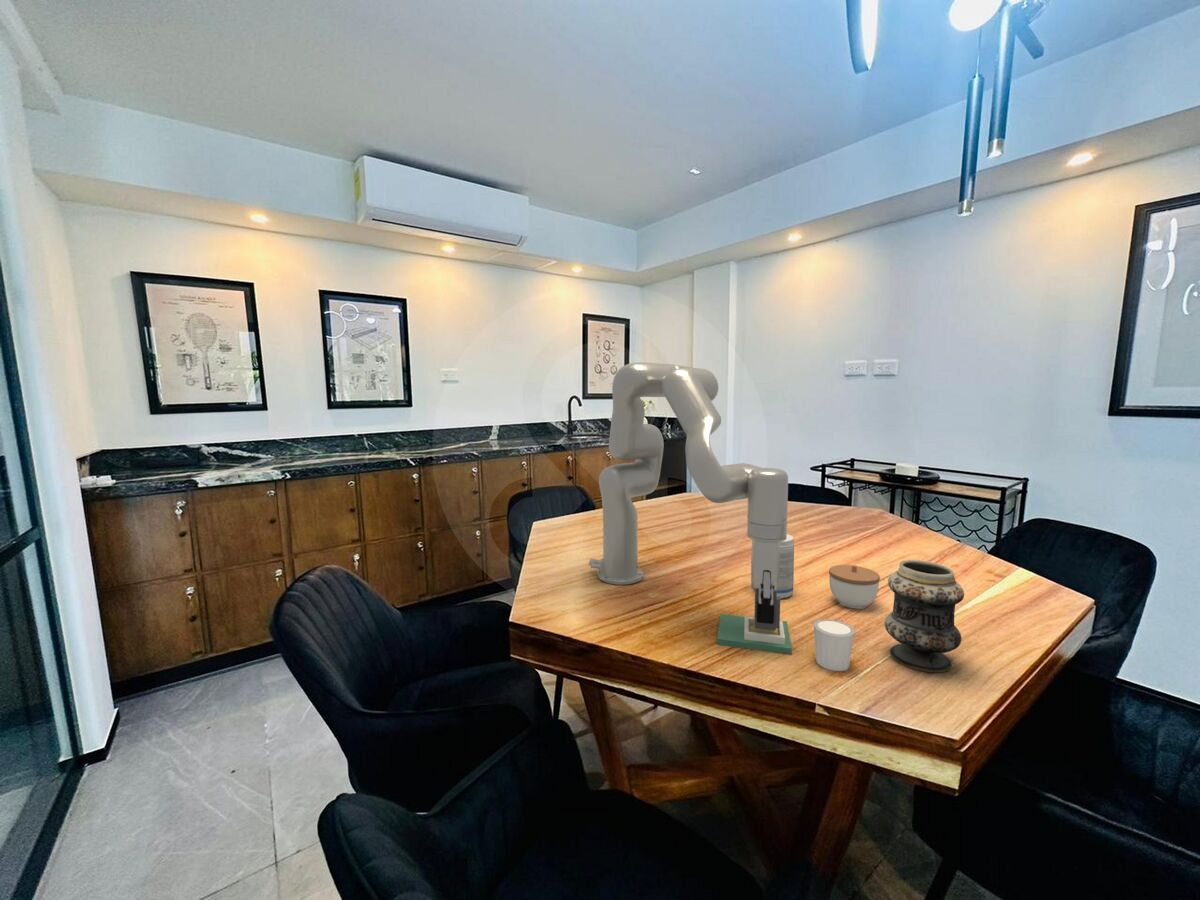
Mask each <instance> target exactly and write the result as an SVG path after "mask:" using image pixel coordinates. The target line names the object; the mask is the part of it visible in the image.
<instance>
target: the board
mask: <svg viewBox="0 0 1200 900" xmlns="http://www.w3.org/2000/svg"><path fill="white" fill-rule="evenodd" d="M716 639H717V641H716V645H717V646H727V647H732V648H740V649H747V650H754V651H761V652H762V651H763V652H771V653H778V654H785V655H793V654H792V653H793V647H792V642H791V636H790V629H789V624H788V621H786V620H780V629H778V628H776V631H774V630H765V629H757V628H755V623H754V617H753V616H744V615H738V614H737V615H735V614H726V613H720V614H719V623H718V631H717V638H716Z"/></svg>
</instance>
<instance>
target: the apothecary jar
mask: <svg viewBox="0 0 1200 900" xmlns="http://www.w3.org/2000/svg"><path fill="white" fill-rule="evenodd" d="M898 567H899V568H898V570H896V571H894V572H893V573H892V574H890V576H888V579H887V586H888V588H889V589H890V590H891V591H892V592H893V594H894V595H893V607H892V612H890V613H888V614H887V616H885V618H884V622H883V623H884V628H885V630H886V632H887V633H888V635H890V636H891V637H892V638H893V639H894V641H897V642H898V643H900V644H896V645H894V646H892V647H891V648H890V650H889V655H890V656H891V657H892V658H893V659H894V661H896V662H898V663H899V664H901V665H903V666H906V667H908V668H910V669H913V670H917V671H921V672H926V673H934V674H940V673H947V672H949V671H951V669H953V663H952V661H951V660H950V659H949V658H948V656H946V655H945V653H950V652H952V651H955V649H958V648H959V647H960V645H961V643H962V635H961V632H960V631H959V629H958V628H957V626H955V612H956V610H955V609H956V605H957V604H959V603H961V602H962V601H963V599H964V598H965V592H964V588H963V587H962V586H961V585H960V584H959V582H957V581H956V577H955V572H954V570H953V569H952V568H950V567H948V566H946V565H942V564H939V563H937V562H936V563H935V562H930V561H927V560H920V559H905V560H902V561H900V563H899V566H898Z"/></svg>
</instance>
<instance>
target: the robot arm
mask: <svg viewBox="0 0 1200 900" xmlns="http://www.w3.org/2000/svg"><path fill="white" fill-rule="evenodd" d="M611 386H612V387H611V388H612V389H611V391H612V414H611V419H610V421H611V422H610V431H609V440H608V451H609V454H610V456H611V457H612V458H613V459H615V460H617V461H634V462H624V463H616V464H615V463H614V464H612V465H609V466H607V467H605V468H603V469H602V471H601V472H600V474H599V475H598V476H599V477H598V485H599V486H598V487H599V491H600V496H601V503H602V504H601V505H602V530H603V531H602V544H603V545H602V546H603V550H602V551H603V552H602V553H603V558H600V559H596V558H595V559H594V558H590V559H589V561H588V564H589V565H588V566H589V567H590V568H591V569H598V572H597V578H598V579H599V580H600V581H602V582H604V583H607V584H610V585H611V584H612V585H620V586H623V585H625V586H626V585H631V584H635V583H638V582H640V581H641V580H643V578H644V572H643V570H641V569H640V568H639V567H638V565H639V564H638V563H639V562H638V561H639V559H638V557H639V555H638V554H639V553H638V550H639V548H638V547H639V544H638V543H639V540H638V537H639V536H638V535H639V534H638V532H639V531H638V530H639V529H638V528H639V527H638V525H639V523H638V511H637V508H636V507H635V505H634V503H633V501H632V498H634V497H635V498H636V497H640V496H641V497H642V496H647V495H650V494H651V493H653V492H654V491H655V490H656V489H657V488H658V485H659V480H660V477H661V469H662V461H663V457H664V445H665V441H664V438H663V434H662V432H661V431H660V429H659V428H658V427H657V426H656V425H653V424H651V423H644V421H645V415H646V413H645V411H646V409H645V406H644V403H643V400H642V398H644V397H645V398H647V397H648V398H665V399H666V400H667V402H668V404H669V406H670V408H671V410H672V411H673V414H675V416H676V417H675V418H677V421H678V423H679V424H680V426H681V427H682V430H683V431H684V433H685V436H686V441H685V453H684V454H685V463H686V467H687V469H688V472H689V474H690V476H691V478H692V479H693V482H694V483H695V485H696V486H697V488H698V490H699V492H700V493H701V494H702V495H703V497H704V498H706V500H708V501H709V502H710V503H711V502H712V503H715V504H725V503H729V502H733V501H738V500H739V501H740V500H744V499H747V520H746V522H747V525H746V526H747V527H746V537H747V538H748V539H750V540H751V560H750V564H751V565H750V584H751V585H750V587H751V589H752V590H754V591H755V588H756V589H758V588H759V602H757V622H759V623H767V624H773V623H774V604H773V592H774V591H776V590H777V587H778V577H779V561H780V542H781V541H785V540H786V539H787V534H788V531H787V530H788V504H789V503H788V502H789V501H788V500H789V499H788V498H789V497H788V496H789V475H788V473H787V472H786V471H785V470H783V469H780V468H775V467H759V466H757V465H754V464H750V463H746V462H745V463H743V462H742V463H734V464H733V463H732V464H725V465H721V464H720V462H719V461H718V460H717V457H716V456H715V454H714V452H713V450H712V446H711V443H710V442H711V441H710V439H711V437H710V436H711V435H712V434H713V433H714V432H715V431H717V429H718V428H719V427H720V426H721V423H722V417H721V415H720V413H719V411H718V409H716V406H715V405H714V404H713V401H714V400H715V399H716V397H717V395H718V393H719V383H718V379H717V377H716V375H715V374H713V372H711V371H710V370H708V369H706V368H698V367H693V366H692V367H690V366H686V365H685V366H684V365H679V364H671V363H658V362H657V363H656V362H655V363H654V362H632V363H631V362H630V363H628V364H625V365H623V366H622V367H620V368H619V369H618V370H617V371H616V373H615V375H614V377H613V380H612V385H611ZM761 585H763V588H761ZM770 586H771V588H770ZM762 592H763V594H762ZM761 594H762V595H761Z"/></svg>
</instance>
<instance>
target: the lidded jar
mask: <svg viewBox="0 0 1200 900" xmlns="http://www.w3.org/2000/svg"><path fill="white" fill-rule="evenodd" d="M828 573H829V575H828V577H829V578H828V579H829V588H830V592H831V593H832V595H833V596H834V598H835V599H836V600H837V601H838V603H839V604H840V605H842V606H843V607H845V608H850V609H854V610H855V609H856V610H862V609H866V608H867V607H868V606H869V605H870V604H872V603H873V602H874V601H875V599H876V598H877V596H878V593H879V586H880V580H881V576H880V574H879V573H878V572H876V571H875V570H873V569H869V568H867V567H864V566H858V565H856V564H855V565H854V564H851V565H850V564H838V565H832V566H831V567H830V568H829V569H828Z"/></svg>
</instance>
